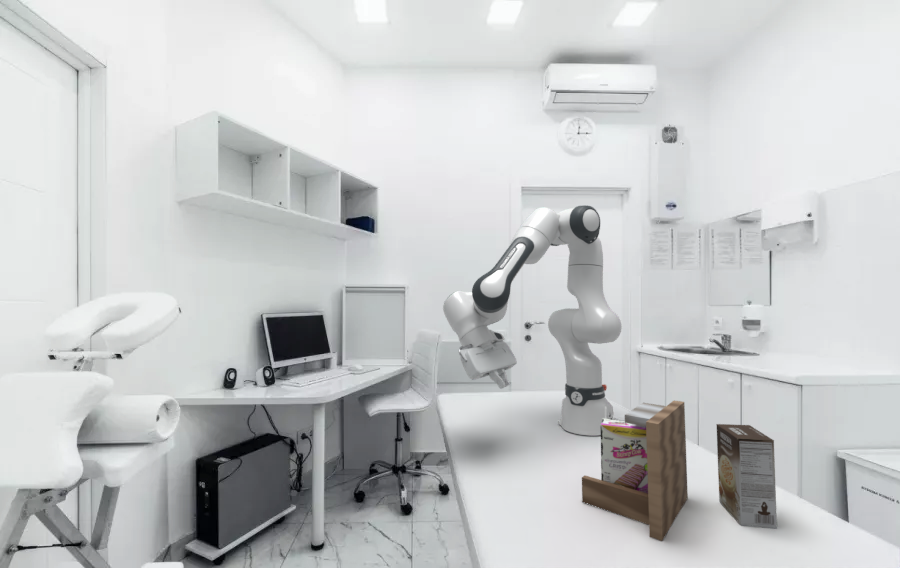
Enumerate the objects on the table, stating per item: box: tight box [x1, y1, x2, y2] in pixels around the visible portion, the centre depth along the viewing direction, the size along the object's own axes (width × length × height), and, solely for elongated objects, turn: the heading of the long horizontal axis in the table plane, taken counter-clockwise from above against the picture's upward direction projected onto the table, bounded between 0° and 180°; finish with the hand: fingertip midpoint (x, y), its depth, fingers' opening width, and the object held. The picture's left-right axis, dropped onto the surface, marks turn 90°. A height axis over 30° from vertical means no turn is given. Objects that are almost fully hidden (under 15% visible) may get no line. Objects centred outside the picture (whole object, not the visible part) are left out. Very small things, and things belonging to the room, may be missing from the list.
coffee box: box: [716, 423, 778, 529], centre depth 78 cm, size 9×6×16 cm
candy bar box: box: [600, 418, 648, 494], centre depth 82 cm, size 11×5×16 cm, turn 65°
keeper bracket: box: [581, 400, 689, 542], centre depth 82 cm, size 20×16×20 cm
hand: (505, 386), depth 106 cm, fingers closed
